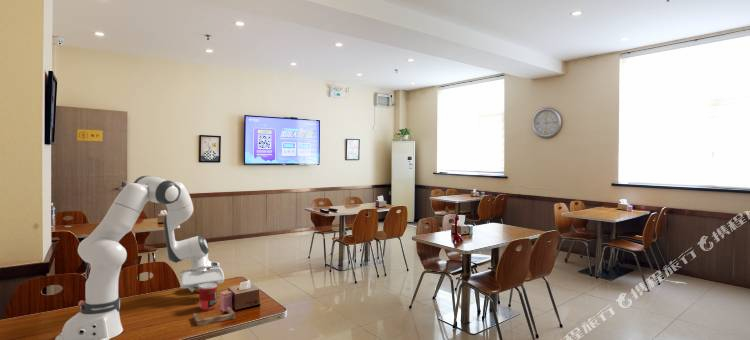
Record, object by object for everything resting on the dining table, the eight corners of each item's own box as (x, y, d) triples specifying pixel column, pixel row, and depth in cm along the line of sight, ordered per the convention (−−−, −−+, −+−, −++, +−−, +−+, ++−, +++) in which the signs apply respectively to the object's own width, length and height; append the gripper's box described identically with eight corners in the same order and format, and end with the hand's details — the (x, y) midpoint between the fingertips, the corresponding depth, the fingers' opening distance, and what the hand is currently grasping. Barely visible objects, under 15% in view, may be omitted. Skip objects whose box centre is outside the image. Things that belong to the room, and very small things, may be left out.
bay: (197, 325, 176) (197, 321, 176) (193, 317, 184) (193, 313, 184) (235, 318, 185) (235, 314, 185) (230, 310, 193) (230, 306, 193)
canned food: (210, 311, 192) (211, 288, 191) (195, 310, 193) (195, 287, 193) (220, 305, 199) (220, 283, 199) (205, 304, 201) (205, 281, 200)
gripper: (179, 267, 203) (182, 293, 195) (222, 262, 214) (226, 286, 206) (178, 274, 206) (180, 299, 199) (220, 268, 218) (224, 292, 210)
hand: (204, 292), depth 202 cm, fingers closed
